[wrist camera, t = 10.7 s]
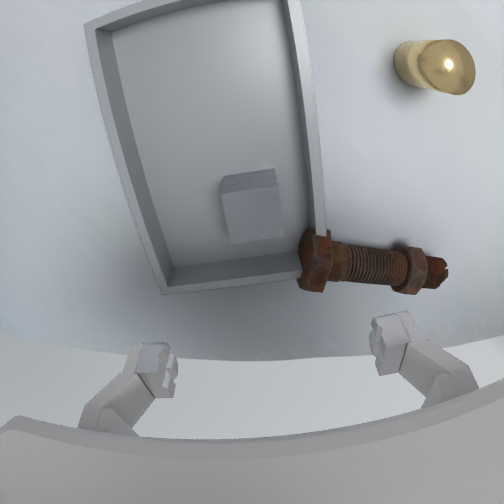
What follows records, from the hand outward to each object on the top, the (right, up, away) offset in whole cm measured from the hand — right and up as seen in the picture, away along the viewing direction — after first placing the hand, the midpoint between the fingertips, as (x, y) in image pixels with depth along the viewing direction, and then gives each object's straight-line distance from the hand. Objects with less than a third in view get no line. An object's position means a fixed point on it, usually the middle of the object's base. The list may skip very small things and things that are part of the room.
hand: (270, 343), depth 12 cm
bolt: (+11, +3, +17) cm, 21 cm away
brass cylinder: (+13, +19, +8) cm, 24 cm away
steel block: (-1, +8, +14) cm, 16 cm away
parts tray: (-3, +12, +12) cm, 18 cm away
